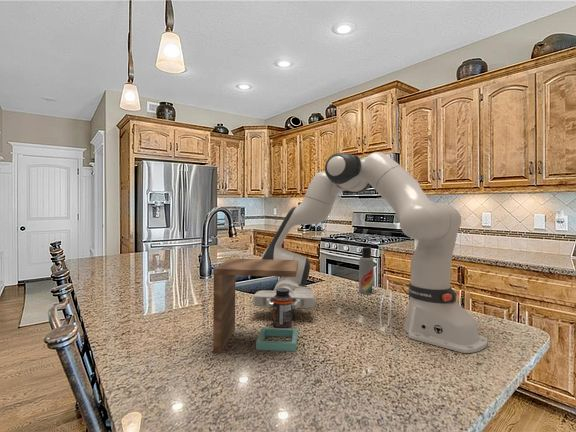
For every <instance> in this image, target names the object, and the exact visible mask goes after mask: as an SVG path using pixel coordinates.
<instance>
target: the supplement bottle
mask: <svg viewBox="0 0 576 432" xmlns="http://www.w3.org/2000/svg"><path fill="white" fill-rule="evenodd" d="M292 313H293V309H292V297H291V296H290V295H289V289H287V288H278V289H276V295H275V296H274V297H273V309H272V325H273V326H274V327H275V328H289V327H291V326H292V323H293V322H292V321H293V317H292V315H293V314H292Z"/></svg>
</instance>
